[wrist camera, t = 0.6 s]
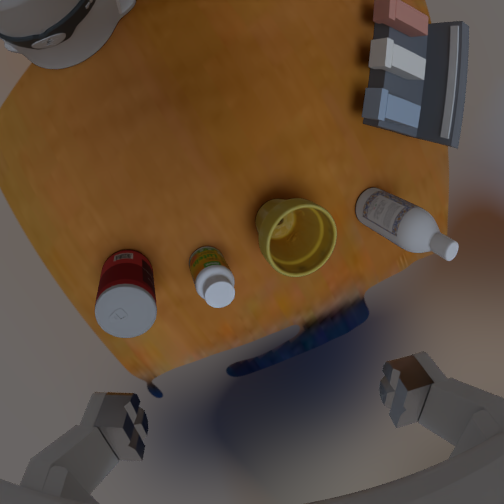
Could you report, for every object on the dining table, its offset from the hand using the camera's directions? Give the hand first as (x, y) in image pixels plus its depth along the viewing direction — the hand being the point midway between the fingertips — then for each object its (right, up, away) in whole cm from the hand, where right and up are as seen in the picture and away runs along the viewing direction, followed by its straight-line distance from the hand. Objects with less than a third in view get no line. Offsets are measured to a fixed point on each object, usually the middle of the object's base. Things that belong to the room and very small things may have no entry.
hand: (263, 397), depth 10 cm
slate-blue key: (+20, +26, +33) cm, 47 cm away
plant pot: (+3, +10, +41) cm, 42 cm away
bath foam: (+20, +13, +45) cm, 51 cm away
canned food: (-19, +2, +37) cm, 41 cm away
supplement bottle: (-7, +3, +40) cm, 41 cm away
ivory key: (+21, +34, +30) cm, 50 cm away
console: (+25, +36, +36) cm, 56 cm away
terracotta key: (+22, +41, +27) cm, 54 cm away
